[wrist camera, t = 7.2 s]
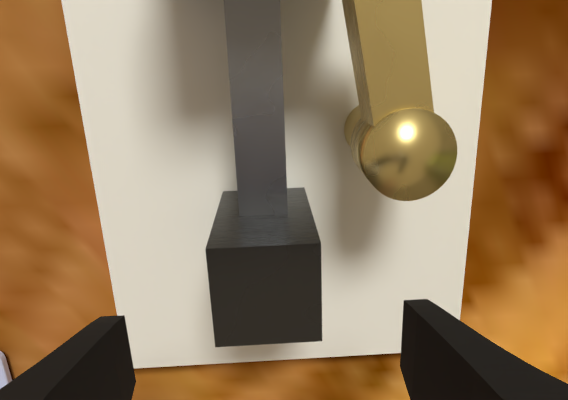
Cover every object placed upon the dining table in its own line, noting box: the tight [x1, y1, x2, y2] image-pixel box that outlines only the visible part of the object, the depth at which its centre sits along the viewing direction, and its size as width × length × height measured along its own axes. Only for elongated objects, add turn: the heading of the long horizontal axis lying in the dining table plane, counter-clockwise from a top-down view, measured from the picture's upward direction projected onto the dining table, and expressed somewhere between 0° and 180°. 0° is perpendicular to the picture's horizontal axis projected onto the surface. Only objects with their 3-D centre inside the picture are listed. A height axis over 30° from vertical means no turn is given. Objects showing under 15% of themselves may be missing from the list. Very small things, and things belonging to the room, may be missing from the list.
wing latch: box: [342, 0, 457, 201], centre depth 14 cm, size 3×7×2 cm, turn 13°
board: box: [61, 0, 492, 369], centre depth 17 cm, size 22×16×4 cm
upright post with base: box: [205, 0, 322, 347], centre depth 14 cm, size 16×3×6 cm, turn 2°
